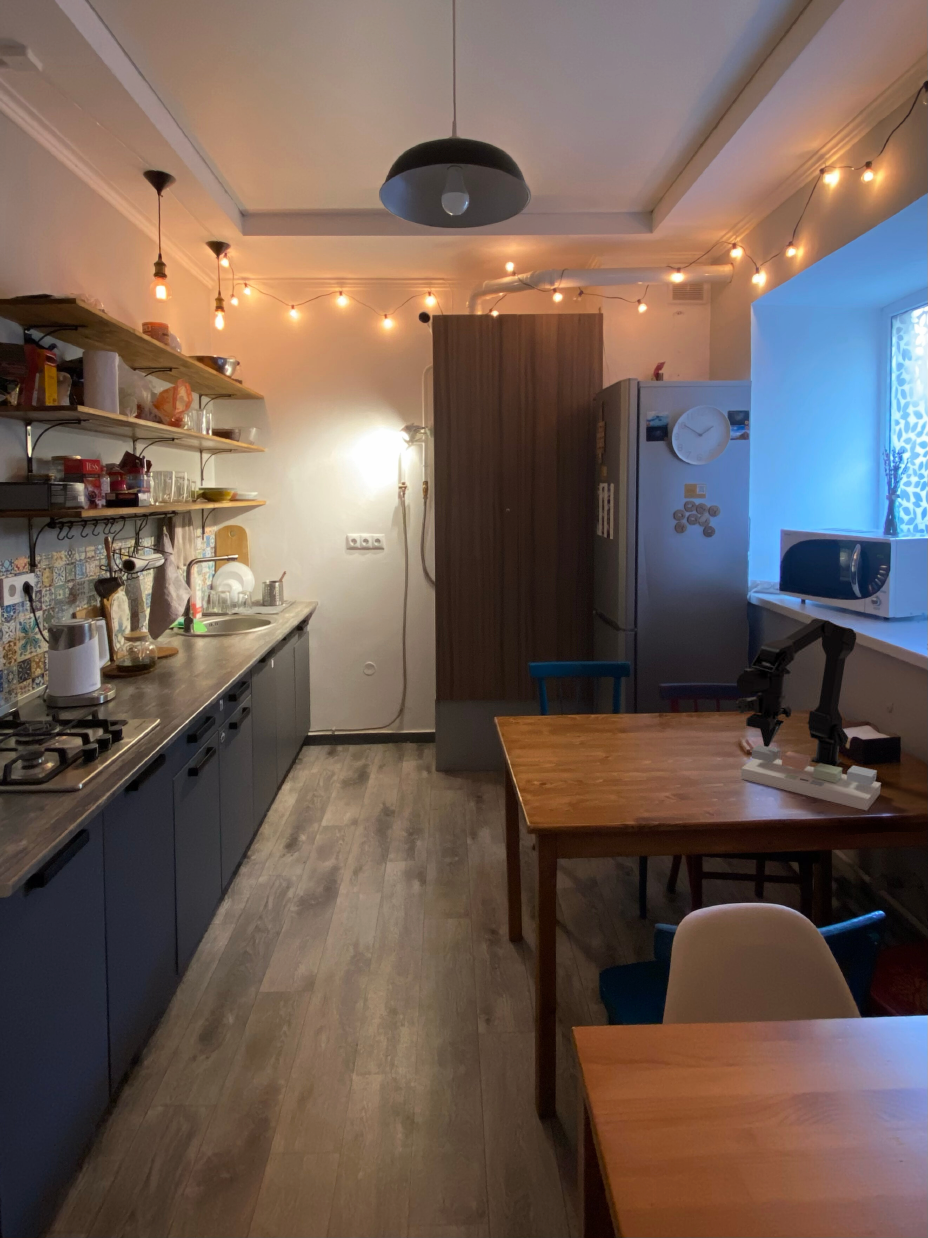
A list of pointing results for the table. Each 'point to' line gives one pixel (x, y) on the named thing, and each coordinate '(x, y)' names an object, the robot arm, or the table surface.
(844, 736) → the robot arm
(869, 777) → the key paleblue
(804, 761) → the key terracotta
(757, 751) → the key slate
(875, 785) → the keypad base
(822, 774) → the key sage
